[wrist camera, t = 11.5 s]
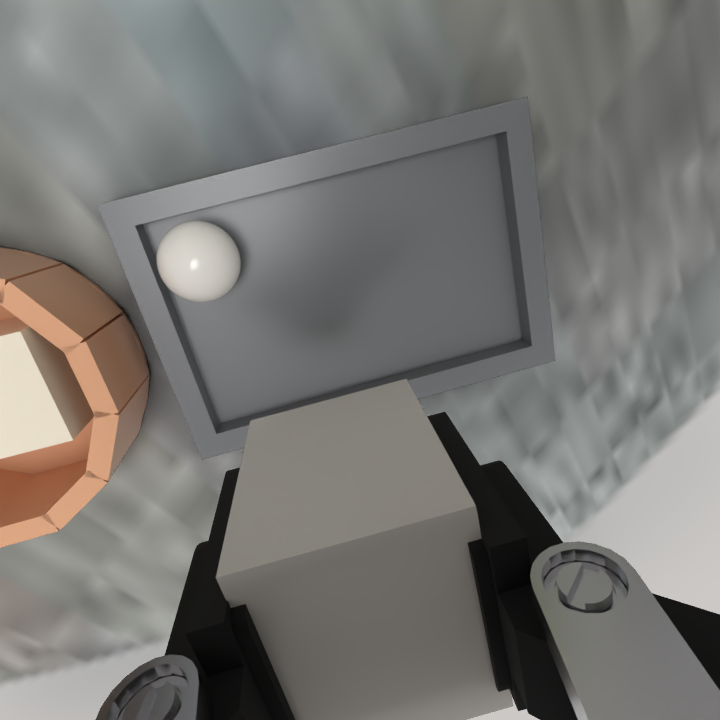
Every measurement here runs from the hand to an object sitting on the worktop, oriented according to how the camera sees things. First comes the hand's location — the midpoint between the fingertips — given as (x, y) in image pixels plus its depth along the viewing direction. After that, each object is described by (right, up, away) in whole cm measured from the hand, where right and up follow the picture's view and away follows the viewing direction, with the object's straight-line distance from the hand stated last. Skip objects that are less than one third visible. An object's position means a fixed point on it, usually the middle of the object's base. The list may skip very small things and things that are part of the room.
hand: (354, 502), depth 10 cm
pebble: (-6, +7, +9) cm, 13 cm away
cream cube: (-12, +3, +10) cm, 16 cm away
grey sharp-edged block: (0, 0, +1) cm, 1 cm away
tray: (0, +6, +11) cm, 13 cm away
